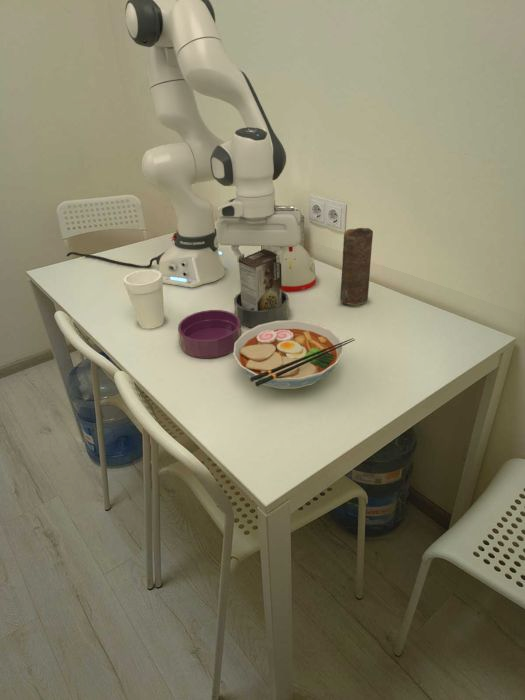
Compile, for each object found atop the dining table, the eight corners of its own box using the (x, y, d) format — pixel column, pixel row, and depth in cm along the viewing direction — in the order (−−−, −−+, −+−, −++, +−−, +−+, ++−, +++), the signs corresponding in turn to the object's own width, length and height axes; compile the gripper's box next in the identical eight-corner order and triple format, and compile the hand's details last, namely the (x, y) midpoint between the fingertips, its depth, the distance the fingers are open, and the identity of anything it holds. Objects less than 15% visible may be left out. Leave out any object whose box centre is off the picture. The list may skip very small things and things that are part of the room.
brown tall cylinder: (367, 309, 126) (372, 236, 115) (339, 308, 128) (342, 235, 117) (367, 296, 132) (373, 225, 122) (341, 295, 134) (344, 225, 123)
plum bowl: (171, 356, 112) (167, 338, 109) (193, 325, 124) (191, 307, 121) (231, 362, 108) (229, 343, 106) (248, 329, 121) (247, 311, 118)
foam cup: (134, 334, 121) (123, 287, 114) (132, 317, 129) (122, 272, 122) (171, 327, 123) (163, 281, 116) (168, 311, 131) (160, 267, 124)
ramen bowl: (303, 335, 117) (303, 305, 112) (368, 380, 100) (371, 347, 96) (212, 370, 106) (208, 339, 102) (269, 427, 89) (267, 393, 85)
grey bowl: (229, 326, 122) (227, 309, 119) (243, 301, 134) (242, 285, 131) (282, 331, 119) (282, 313, 116) (293, 305, 130) (292, 288, 128)
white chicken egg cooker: (266, 291, 139) (263, 241, 130) (272, 271, 150) (270, 224, 142) (314, 292, 136) (314, 241, 128) (317, 272, 148) (317, 224, 140)
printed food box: (265, 304, 131) (264, 248, 121) (282, 312, 127) (282, 254, 118) (241, 316, 125) (237, 259, 116) (258, 325, 122) (256, 266, 112)
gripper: (303, 201, 111) (304, 258, 118) (219, 201, 115) (225, 256, 123) (298, 209, 105) (299, 268, 113) (210, 209, 110) (217, 265, 117)
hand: (260, 262), depth 118 cm, fingers closed on printed food box, 8 cm apart
